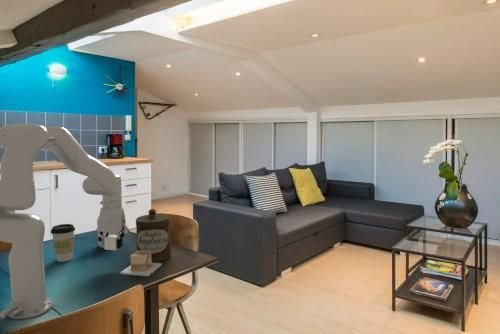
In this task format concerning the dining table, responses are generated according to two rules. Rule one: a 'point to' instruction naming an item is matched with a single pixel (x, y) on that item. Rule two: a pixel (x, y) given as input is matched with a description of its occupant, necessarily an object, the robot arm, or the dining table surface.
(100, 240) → the supplement can
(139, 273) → the white orange square board
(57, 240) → the coffee cup
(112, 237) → the cream block
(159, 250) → the wooden container
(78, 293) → the dining table surface
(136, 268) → the oak block
